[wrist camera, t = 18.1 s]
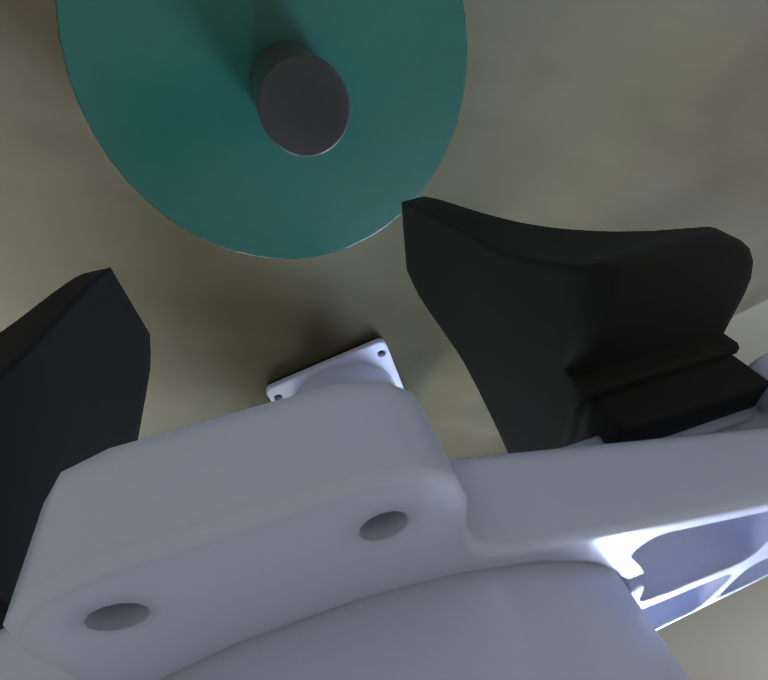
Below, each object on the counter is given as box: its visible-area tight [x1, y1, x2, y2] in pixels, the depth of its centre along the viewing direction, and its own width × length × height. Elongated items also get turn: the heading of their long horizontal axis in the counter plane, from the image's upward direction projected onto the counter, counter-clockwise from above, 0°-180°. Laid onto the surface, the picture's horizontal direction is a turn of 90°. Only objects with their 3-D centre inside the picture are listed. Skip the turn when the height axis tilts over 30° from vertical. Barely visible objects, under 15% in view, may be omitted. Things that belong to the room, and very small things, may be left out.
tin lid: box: [55, 0, 467, 259], centre depth 13 cm, size 12×12×4 cm
